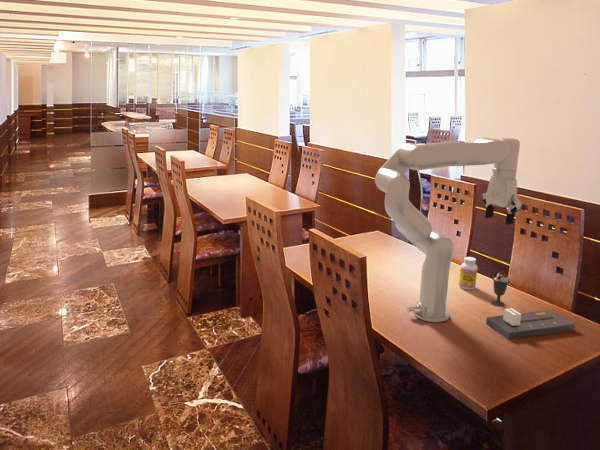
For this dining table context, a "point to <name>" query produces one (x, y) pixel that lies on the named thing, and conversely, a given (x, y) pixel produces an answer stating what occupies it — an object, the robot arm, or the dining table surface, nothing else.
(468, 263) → the supplement bottle
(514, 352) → the dining table surface
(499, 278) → the sundae
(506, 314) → the fader
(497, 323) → the dimmer panel
